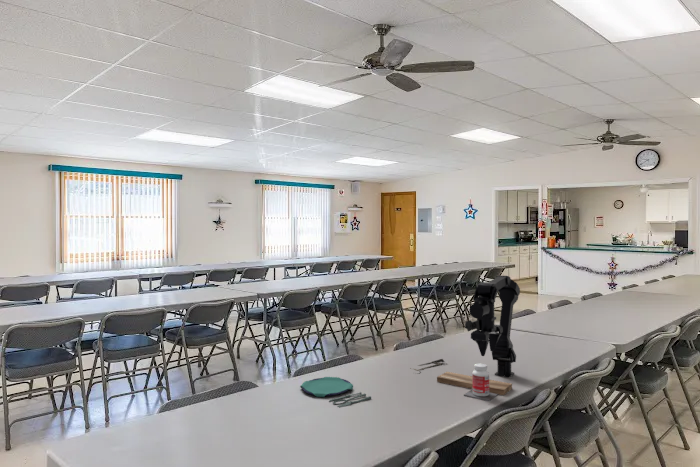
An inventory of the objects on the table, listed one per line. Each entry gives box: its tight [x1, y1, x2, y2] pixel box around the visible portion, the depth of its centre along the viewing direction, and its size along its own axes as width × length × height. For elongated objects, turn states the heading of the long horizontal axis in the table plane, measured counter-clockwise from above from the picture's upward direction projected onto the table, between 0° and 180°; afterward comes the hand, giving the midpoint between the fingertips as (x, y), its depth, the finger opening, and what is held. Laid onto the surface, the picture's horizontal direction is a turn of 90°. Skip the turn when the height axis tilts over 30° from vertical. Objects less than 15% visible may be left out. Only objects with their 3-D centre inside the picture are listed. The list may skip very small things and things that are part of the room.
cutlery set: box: [299, 376, 372, 408], centre depth 189 cm, size 20×30×2 cm, turn 33°
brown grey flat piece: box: [436, 371, 513, 402], centre depth 191 cm, size 18×28×2 cm, turn 52°
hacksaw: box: [409, 358, 448, 375], centre depth 221 cm, size 24×10×2 cm, turn 121°
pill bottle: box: [471, 363, 490, 397], centre depth 183 cm, size 6×6×11 cm
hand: (487, 353), depth 194 cm, fingers open, 9 cm apart
